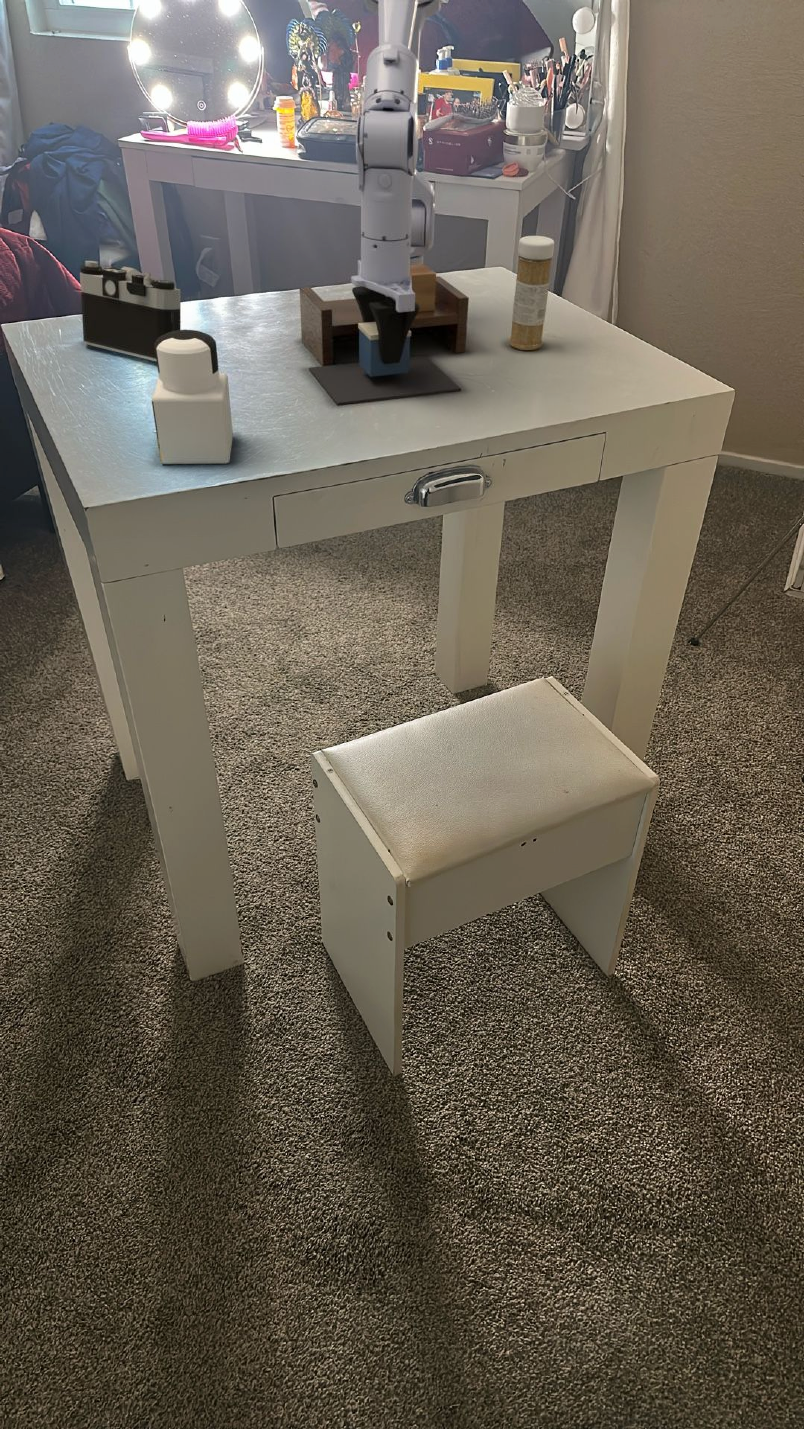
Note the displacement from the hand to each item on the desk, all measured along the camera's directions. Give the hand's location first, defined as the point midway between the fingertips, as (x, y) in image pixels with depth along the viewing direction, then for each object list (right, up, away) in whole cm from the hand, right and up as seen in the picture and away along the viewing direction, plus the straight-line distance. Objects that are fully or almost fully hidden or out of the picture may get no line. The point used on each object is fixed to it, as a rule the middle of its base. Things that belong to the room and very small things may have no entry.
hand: (384, 355), depth 115 cm
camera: (-32, +5, +9) cm, 33 cm away
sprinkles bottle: (+19, +6, +13) cm, 24 cm away
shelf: (0, +6, +11) cm, 13 cm away
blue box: (0, -1, +1) cm, 2 cm away
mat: (0, -2, +2) cm, 3 cm away
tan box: (+4, +10, +9) cm, 14 cm away
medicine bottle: (-20, -16, -15) cm, 29 cm away
